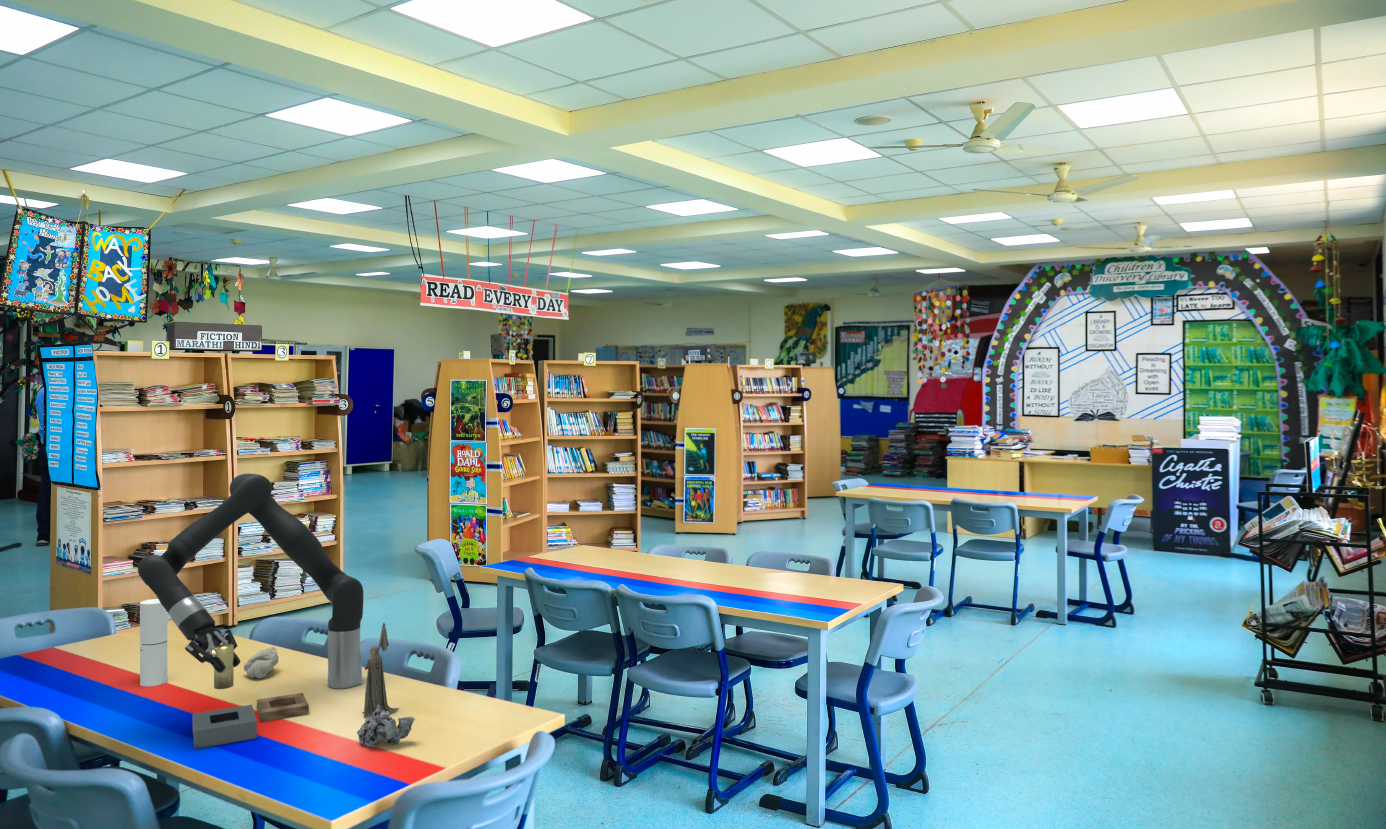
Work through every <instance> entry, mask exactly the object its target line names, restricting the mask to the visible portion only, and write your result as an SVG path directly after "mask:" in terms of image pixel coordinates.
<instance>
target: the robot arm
mask: <svg viewBox="0 0 1386 829" xmlns="http://www.w3.org/2000/svg"><path fill="white" fill-rule="evenodd" d="M272 491H273V487H272V483H271V481H270V480H269V479H268V477H266V476H264V475H261V474H258V473H242V474H239V475H237V476H235V477H234V478H233V479H232V480H231V482H230V484H229V494H230V495H229V496H228V497H227V498H226V500H224V501H223V502H222V503H221V504H220V505H218V506H217V507H216V508H214V509H213V510H211V511H209V512H207V513H206V514H205V515H203V516H201V517H200V518H198V519H197V520H195V521H193V522H192V523H191V524H189V525H188V526H187V527H186V528H185V527H184V529H183V530H182V531H181V532H179V533H178V534H177V535H175V537H173V538H172V539H171V540H170V541H169V542H168V544H167V549H166V550H165V552H163V553H162V554H161V555H158V554H151V555H147V556H145V557H143V558H142V559H141V560H140V561H139V563H138V565H137V572H138V573H137V574H138V575H139V577H140V579H141V580H142V581H143V583H144V584H145V585H146V586H148V588H149V589H150V590H151V591H152V593H154V595H155V596H156V599H159V601H160V603H161V604H162V606H163V607H164V608H165V610H166V611H167V614H168V615H169V616H170V618H171V620H172V622H173V623H174V624H175V626H176V628H178V630H179V631H180V632H181V633H182V635H183V637H185V639H186V640H188V641H190V642H188V644H187V645H186V646H185V647H184V650H185V651H187V653H189V654H190V655H191V656H192V657H193V658H194V659H195V660H197V661H198V662H200V663H201V664H204V663H208V664H210V665H211V666H212V668H213V669H214V668H215V670H216V671H217V672H218V673H221V672H223V671H224V670H225V669H226V666H225V665H224V664H223V662H222V661H221V660H220V658H219V657H216V656H217V655H216V653H215V650H214V648H215V646H217V645H221V644H233V645H234V650H235V649H236V648H237V647H238V643H237V642H236V638H235V637H234V635H233V633H232V630H231V629H229V628H227V629H226V630H223V631H221V630H220V629H218V628H217V626H216V621H215V619H214V618H213V617H212V615H211V614H210V613H209V611H207V609H206V607H205V606H204V605H203V603H201V601H199V599H197V598H196V596H194V594H193V593H192V591H191V590H190V589H189V588H188V587H187V586H186V584H185V583H184V582H183V581H182V580H181V579H180V578H179V576H178V575H179V573H180V572H181V571H182V569H183V568H184V567H185V566H186V564H187V563H188V562H189V561H190V559H192V558H193V557H195V556H196V555H197V554H198V553H199V552H200V551H201V550H203V549H204V548H205V547H207V545H208V544H210V543H211V542H212V541H214V539H215V538H216V537H218V536H220V534H221V533H222V532H224V531H225V530H226V529H227V528H229V527H230V526H231V525H233V524H234V523H235V522H237V521H238V520H239V519H241V518H242V517H243V516H245V515H247V514H250V516H252V517H253V518H254V519H255V520H256V521H257V522H258V523H259V524H260V525H261V527H262V528H263V529H264V530H265V532H266V533H267V534H268V536H270V538H271V539H272V540H273V542H275V543H276V545H277V546H278V547H279V548H280V549H281V550H282V551H283V552H284V553H285V555H286V556H288V558H289V559H291V560H292V561H293V562H294V564H296V565H297V566H298V567H299V568H300V569H301V570H302V571H304V572H305V573H306V574H307V575H308V576H310V578H311V579H312V580H313V582H314V583H315V584H316V586H318V588H319V589H320V590H321V592H322V594H323V595H324V596H325V597H326V599H327V600H328V601H329V602H330V603H332V610H331V611H332V612H331V613H332V614H331V618H329V620H328V621H327V632H328V633H327V686H328V687H329V688H331V689H347V688H348V689H349V688H354V687H356V686H359V685H362V683H363V677H362V676H363V654H362V652H361V621H362V620H363V615H364V587H363V584H362V583H361V581H360V580H358V579H357V578H355V577H352V576H349V575H348V574H346V573H345V572H344V571H343V570H341V569H340V568H339V567H338V565H336V564H335V563H334V562H333V561H332V560H331V559H330V557H329V556H328V555H327V554H328V553H326V550H325V548H324V547H323V545H322V543H321V542H320V539H318V538H317V536H316V535H315V534H314V532H312V530H310V528H309V527H308V526H307V525H306V524H304V523H303V521H301V520H300V519H299V518H297V517H296V516H295V515H293V514H292V513H291V512H289V511H287V510H286V509H285V508H284V507H282V506H281V505H280V504H279V503H278V502H277V501H276V500H275V499H274V497H273V496H272ZM201 655H202V656H201ZM240 663H241V659H240V657H239V656H238V655H237V654H236V653H235V651H234V668H236V667H238V666H239V665H240Z"/></svg>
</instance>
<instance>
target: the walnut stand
mask: <svg viewBox="0 0 1386 829" xmlns="http://www.w3.org/2000/svg"><path fill="white" fill-rule="evenodd" d="M309 707H310V705H309V703H308V701H307V699H306V697H305V694H304V692H298V693H292V694H284V695H279V696H272V697H266V698H258V699H256V711H257V713H258V717H259V721H260V723H263V722H269V721H276V720H282V719H287V718H294V717H300V716H305V715H309V713H310V710H309V709H310V708H309Z"/></svg>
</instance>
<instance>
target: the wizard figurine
mask: <svg viewBox="0 0 1386 829" xmlns="http://www.w3.org/2000/svg"><path fill="white" fill-rule="evenodd" d="M380 632H381V633H380V636H379V637H380V638H379V642H378V646H377V645H372V646H371V647H370V649H369V655H370V657H368V658H367V660H366V663H365V666H364V670H365V671H366V670H367V675H366V676H367V677H366V684H365V695H364V703H363V704H364V706H363V711H362V714H364V715H363V719H366V718H368V717H372V714H373V712H374V711H375V710H376V708H377V705H380V706H381V707H382V710H384V711H386V712H387V711H389V714H390V716H391V715H393V714H395V713H396V712H397V711H398V709H400V708H399V707H391V706H389V704H388V697H387V691H386V690H387V688H386V682H385V681H386V680H385V673H384V672H385V671H384V665H383V655H381V654H380V650H382V652H386V651H387V650H388V647H389V646H390V643H389V640H388V632H387V627H386V623H385V622H383V623H382V627H381V631H380ZM380 648H381V649H380Z"/></svg>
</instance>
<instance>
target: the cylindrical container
mask: <svg viewBox="0 0 1386 829" xmlns="http://www.w3.org/2000/svg"><path fill="white" fill-rule="evenodd" d="M139 661H140V662H139V675H140V676H139V680H140V682H139V685H140V686H141V687H155V686H160V685H164V684H166V683H168V612H167V611H166V610H165V608H164V607H163V606H162V604H161V603H160V601H159V599H158V598H151V599H146V600H145V599H144V600H143V601H140V602H139Z"/></svg>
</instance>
